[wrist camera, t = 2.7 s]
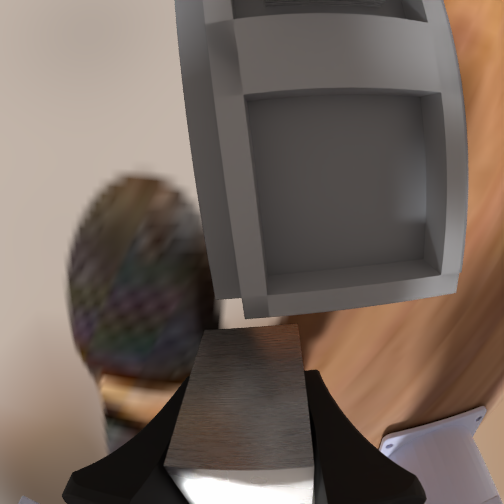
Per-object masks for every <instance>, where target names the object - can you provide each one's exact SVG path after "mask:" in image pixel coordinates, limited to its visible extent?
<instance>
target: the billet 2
mask: <svg viewBox="0 0 504 504" xmlns="http://www.w3.org/2000/svg"><path fill="white" fill-rule="evenodd" d="M385 1H386V0H264V5H265V7H275V6H291V5H346V6H362V7H374V8H380V7H381V6H382V5H383V3H384V2H385Z"/></svg>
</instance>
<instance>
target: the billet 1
mask: <svg viewBox="0 0 504 504" xmlns="http://www.w3.org/2000/svg"><path fill="white" fill-rule="evenodd" d="M164 467H165V469H166V470H167V472H168V473H169V475H170V476H171V478H172V479H173V481H174V482H175V484H176V485H177V487H178V488H179V490H180V491H181V492H182V494H183V495H184V497H185V498H186V499H187V501H188V502H189V503H190V504H312V495H313V480H314V458H313V448H312V438H311V429H310V420H309V411H308V402H307V393H306V385H305V377H304V369H303V361H302V353H301V345H300V338H299V330H298V323H297V324H286V325H275V326H262V327H249V328H233V329H215V330H205V331H204V334H203V337H202V340H201V343H200V346H199V350H198V353H197V356H196V359H195V362H194V366H193V369H192V372H191V375H190V379H189V382H188V385H187V388H186V392H185V395H184V398H183V402H182V405H181V408H180V411H179V415H178V418H177V421H176V425H175V428H174V432H173V435H172V438H171V442H170V445H169V448H168V452H167V455H166V459H165V462H164Z"/></svg>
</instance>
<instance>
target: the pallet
mask: <svg viewBox="0 0 504 504" xmlns="http://www.w3.org/2000/svg"><path fill="white" fill-rule="evenodd" d="M175 12H176V24H177V35H178V45H179V56H180V65H181V74H182V83H183V92H184V100H185V108H186V115H187V124H188V132H189V139H190V146H191V153H192V161H193V168H194V175H195V181H196V188H197V194H198V201H199V207H200V213H201V219H202V225H203V231H204V237H205V243H206V249H207V255H208V260H209V266H210V271H211V277H212V282H213V288H214V293H215V298H216V300H219V299H232V298H242V303H243V310H244V316H245V319H251V318H252V319H253V318H265V317H277V316H289V315H299V314H309V313H319V312H328V311H337V310H345V309H353V308H361V307H369V306H376V305H383V304H390V303H397V302H404V301H410V300H416V299H423V298H429V297H435V296H440V295H446V294H452V293H456V290H457V283H458V277H459V273H460V272H461V271H462V264H463V256H464V247H465V237H466V225H467V208H468V143H467V127H466V115H465V105H464V97H463V89H462V82H461V76H460V70H459V64H458V59H457V54H456V49H455V44H454V39H453V35H452V31H451V27H450V23H449V19H448V15H447V12H446V8H445V5H444V2H443V0H386V1H385V2H384V3H383V5H382V6H381V7H380V8H374V7H362V6H346V5H291V6H275V7H265V5H264V0H175Z"/></svg>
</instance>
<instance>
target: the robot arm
mask: <svg viewBox="0 0 504 504" xmlns="http://www.w3.org/2000/svg"><path fill="white" fill-rule="evenodd" d="M304 377H305V385H306V393H307V402H308V411H309V420H310V429H311V438H312V448H313V458H314V494H315V504H503V503H502V501H501V498H500V496H499V493H498V491H497V489H496V487H495V484H494V482H493V479H492V477H491V475H490V473H489V471H488V468H487V466H486V464H485V462H484V460H483V458H482V456H481V454H480V451H479V449H478V447H477V445H476V443H475V442H474V439H473V435H474V433H475V432H476V430H477V428H478V426H479V425H480V423H481V421H482V419H483V417H484V415H485V413H486V411H487V410H486V408H485V406H481V407H478V408H475V409H473V410H470V411H467V412H464V413H461V414H458V415H455V416H452V417H449V418H446V419H443V420H440V421H436V422H433V423H430V424H426V425H422V426H419V427H415V428H411V429H407V430H403V431H399V432H395V433H390V434H388V435H386V436H385V437H383V439H382V442H381V445H380V448H379V450H378V449H377V448H376V447H375V446H373V445H372V444H371V443H370V442H369V441H368V440H367V439H366V438H365V437H364V436H363V435H362V434H361V433H360V432H359V431H358V430H357V429H356V428H355V427H354V426H353V424H352V423H351V422H350V421H349V420H348V418H347V417H346V416H345V415H344V413H343V412H342V411H341V409H340V408H339V406H338V405H337V403H336V402H335V400H334V399H333V397H332V396H331V394H330V393H329V391H328V389H327V387H326V385H325V384H324V382H323V380H322V377H321V375H320V372H319V371H318V370H308V371H304ZM189 379H190V376H188V377H187V378H186V379H185V381H184V382H183V383H182V384H181V386H180V387H179V388H178V390H177V391H176V392H175V394H174V395H173V396H172V397H171V399H170V400H169V401H168V402H167V403H166V405H165V406H164V407H163V408H162V409H161V411H160V412H159V413H158V414H157V415H156V416H155V417H154V418H153V419H152V420H151V421H150V422H149V423H148V424H147V425H146V426H145V427H144V428H143V429H142V430H141V431H140V432H139V433H138V434H137V435H136V436H134V437H133V438H132V439H131V440H129V441H128V442H127V443H126V444H124V445H123V446H121V447H120V448H118V449H117V450H116V451H114V452H113V453H111V454H109V455H108V456H106V457H104V458H103V459H101V460H99V461H97V462H95V463H93V464H91V465H89V466H87V467H84V468H82V469H80V470H78V471H75V472H73V473H72V475H71V477H70V479H69V481H68V483H67V485H66V488H65V489H64V492H63V494H62V497H63V499H64V501H65V502H66V503H67V504H190V503H189V502H188V501H187V499H186V498H185V497H184V495H183V494H182V492H181V491H180V490H179V488H178V487H177V485H176V484H175V482H174V481H173V479H172V478H171V476H170V475H169V473H168V472H167V470H166V469H165V467H164V462H165V459H166V455H167V452H168V448H169V445H170V442H171V438H172V435H173V432H174V428H175V425H176V421H177V418H178V415H179V411H180V408H181V405H182V402H183V398H184V395H185V392H186V388H187V385H188V382H189ZM18 504H39V503H37V502H35V501H33V500H31V499H29V498H27V497H25V496H22V497H21V499H20V501H19V503H18Z"/></svg>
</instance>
